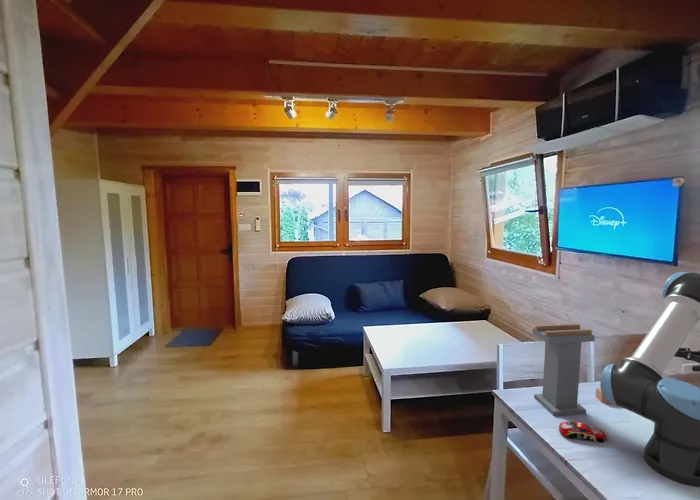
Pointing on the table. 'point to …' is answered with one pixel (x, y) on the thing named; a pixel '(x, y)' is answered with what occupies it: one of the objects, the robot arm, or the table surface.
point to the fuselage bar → (601, 396)
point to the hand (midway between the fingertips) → (664, 360)
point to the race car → (582, 431)
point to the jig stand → (562, 367)
